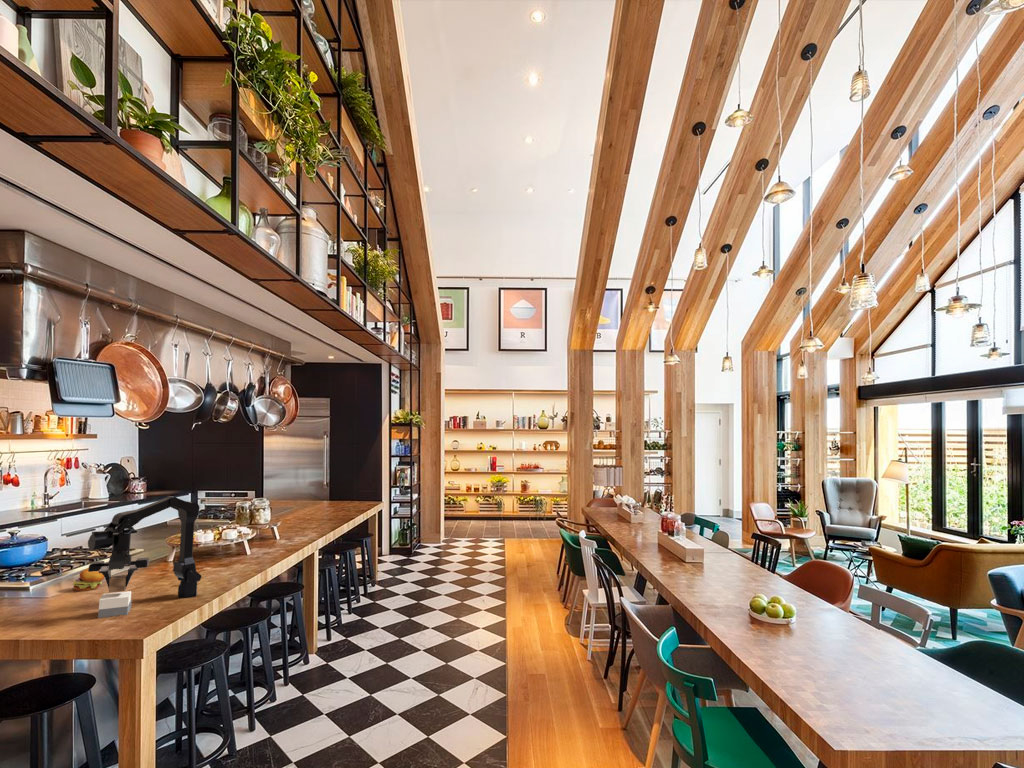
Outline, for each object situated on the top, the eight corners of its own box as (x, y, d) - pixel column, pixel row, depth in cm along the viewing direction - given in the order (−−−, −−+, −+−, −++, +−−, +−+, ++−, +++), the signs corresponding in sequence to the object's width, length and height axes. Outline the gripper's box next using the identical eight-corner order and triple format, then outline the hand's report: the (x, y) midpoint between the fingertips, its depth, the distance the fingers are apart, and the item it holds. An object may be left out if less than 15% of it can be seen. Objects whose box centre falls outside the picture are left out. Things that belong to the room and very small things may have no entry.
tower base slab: (130, 609, 216) (131, 600, 216) (126, 616, 208) (127, 606, 208) (102, 612, 212) (103, 602, 212) (97, 619, 204) (98, 609, 204)
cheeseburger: (85, 584, 248) (92, 563, 249) (106, 591, 247) (113, 569, 248) (65, 590, 238) (72, 567, 239) (86, 597, 237) (93, 574, 238)
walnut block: (126, 587, 214) (127, 574, 215) (124, 591, 210) (125, 577, 210) (111, 589, 212) (112, 576, 213) (108, 592, 208) (109, 579, 208)
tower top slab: (130, 600, 216) (131, 591, 216) (127, 606, 208) (128, 596, 209) (102, 603, 212) (103, 593, 212) (98, 609, 204) (99, 599, 204)
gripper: (86, 552, 201) (82, 595, 200) (146, 548, 210) (143, 589, 208) (93, 546, 211) (90, 588, 210) (150, 542, 220) (147, 582, 218)
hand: (117, 587), depth 211 cm, fingers closed on walnut block, 5 cm apart
